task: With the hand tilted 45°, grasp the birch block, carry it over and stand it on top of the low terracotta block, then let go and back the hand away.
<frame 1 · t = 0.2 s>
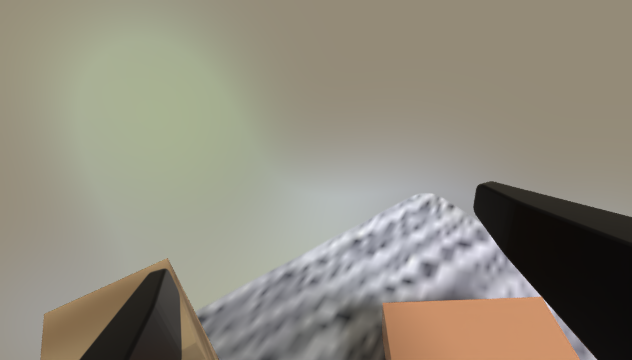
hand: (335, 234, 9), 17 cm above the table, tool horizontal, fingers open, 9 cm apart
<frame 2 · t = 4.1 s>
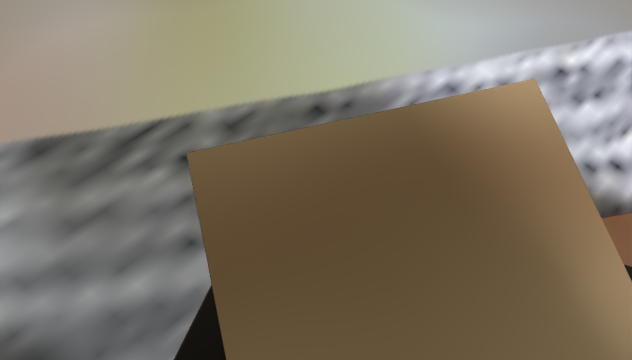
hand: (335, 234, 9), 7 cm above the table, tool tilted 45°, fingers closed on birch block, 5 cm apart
birch block: (321, 279, 15), on the table, touching gripper
when the fingers open (12 cm above the table, at t = 8.4 s): birch block drops 2 cm, point 4 cm above the table.
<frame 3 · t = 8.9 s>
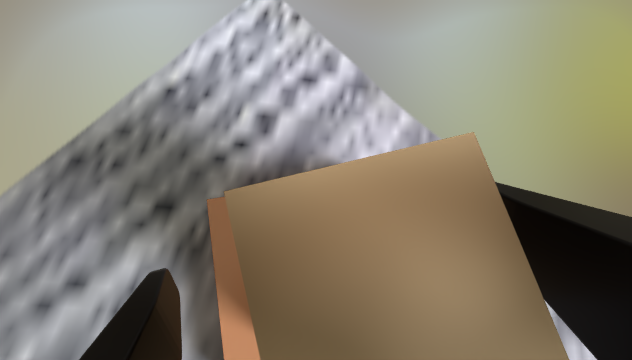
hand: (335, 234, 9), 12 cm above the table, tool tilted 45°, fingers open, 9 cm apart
terracotta block: (310, 277, 21), on the table
birch block: (319, 280, 17), point 4 cm above the table
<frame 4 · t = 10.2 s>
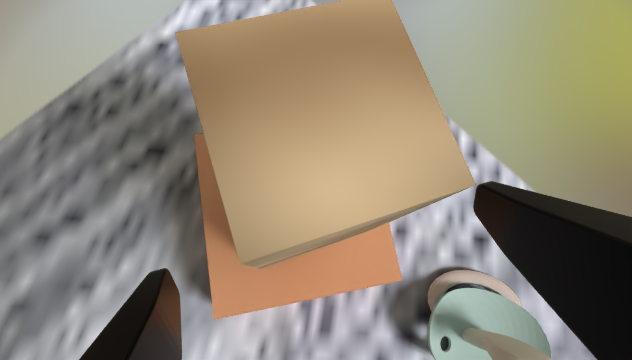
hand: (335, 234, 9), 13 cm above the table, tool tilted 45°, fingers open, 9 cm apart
terracotta block: (292, 216, 23), on the table
birch block: (292, 209, 19), point 4 cm above the table
pacifier: (468, 317, 22), on the table
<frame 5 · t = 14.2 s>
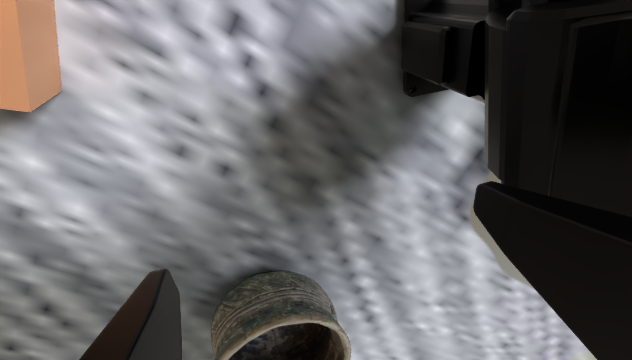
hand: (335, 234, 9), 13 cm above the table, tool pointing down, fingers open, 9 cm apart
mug: (282, 297, 29), on the table
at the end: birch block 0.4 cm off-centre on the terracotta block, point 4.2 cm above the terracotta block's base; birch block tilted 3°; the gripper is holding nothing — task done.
